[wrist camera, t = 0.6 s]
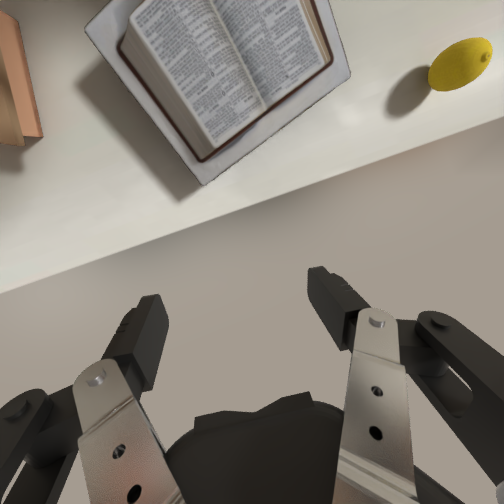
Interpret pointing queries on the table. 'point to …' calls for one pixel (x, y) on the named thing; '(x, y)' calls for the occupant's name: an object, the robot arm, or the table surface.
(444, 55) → the lemon
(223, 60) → the bible
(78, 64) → the table surface
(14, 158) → the table surface
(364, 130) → the table surface
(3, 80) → the lid
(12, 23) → the dish
